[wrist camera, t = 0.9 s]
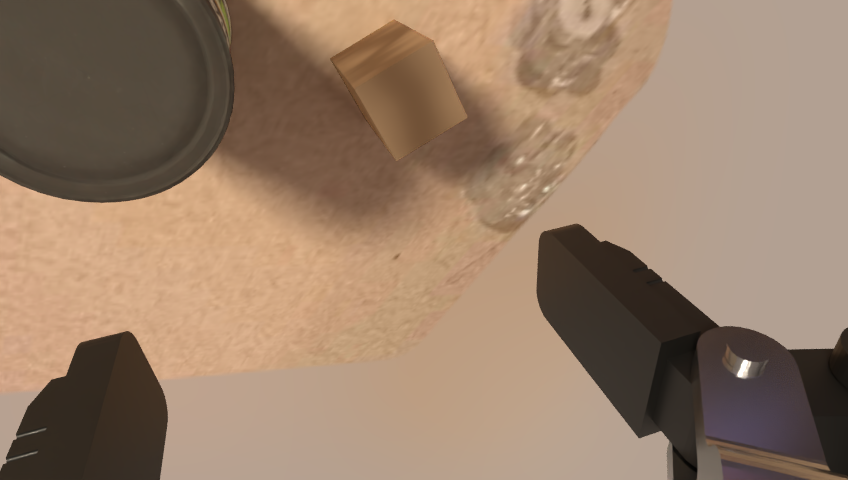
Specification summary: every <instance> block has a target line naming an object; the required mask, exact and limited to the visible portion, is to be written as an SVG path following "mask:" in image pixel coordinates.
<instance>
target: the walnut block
mask: <svg viewBox="0 0 848 480" xmlns="http://www.w3.org/2000/svg"><path fill="white" fill-rule="evenodd" d="M330 59H331V61H332V63H333V64H334V66H335V68H336V69H337V71H338V73H339V75H340V76H341V78H342V80H343V81H344V83H345V85H346V86H347V88H348V90H349V92H350V93H351V95H352V97H353V98H354V100H355V102H356V104H357V105H358V107H359V109H360V110H361V112H362V114H363V115H364V117H365V119H366V121H367V122H368V123H369V125H370V126H371V127H372V129H373V130H374V132H375V133H376V134H377V136H378V137H379V138H380V140H381V141H382V142H383V144H384V145H385V147H386V148H387V149H388V151H389V152H390V153H391V155H392V156H393V157H394V159H395V160H396V161H398V160H400V159H401V158H403V157H404V156H406V155H408V154H409V153H411V152H413V151H414V150H416V149H417V148H419V147H421V146H422V145H424V144H426V143H427V142H429V141H430V140H432V139H434V138H435V137H437V136H439V135H440V134H442V133H443V132H445V131H447V130H448V129H450V128H452V127H453V126H455V125H456V124H458V123H460V122H461V121H463V120H465V119H466V118H468V117H467V115H466V112H465V110H464V108H463V106H462V104H461V101H460V99H459V97H458V95H457V92H456V90H455V88H454V86H453V84H452V81H451V79H450V77H449V75H448V72H447V70H446V68H445V66H444V63H443V61H442V59H441V57H440V55H439V52H438V50H437V48H436V46H435V43H434V41H433V40H431V39H429V38H428V37H426V36H424V35H422V34H420V33H418V32H416V31H415V30H413V29H411V28H409V27H407V26H405V25H403V24H402V23H400V22H398V21H396V20H393V21H391V22H389V23H388V24H386V25H384V26H383V27H381V28H380V29H378V30H376V31H375V32H373V33H371V34H370V35H368V36H366V37H365V38H363V39H362V40H360V41H358V42H357V43H355V44H353V45H352V46H350V47H348V48H347V49H345V50H344V51H342V52H340V53H339V54H337V55H335V56H334V57H332V58H330Z"/></svg>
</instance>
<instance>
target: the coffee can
mask: <svg viewBox="0 0 848 480" xmlns="http://www.w3.org/2000/svg"><path fill="white" fill-rule="evenodd" d="M230 45H231V21H230V15H229V10H228V7H227V4H226V1H225V0H0V175H1V176H3V177H5V178H7V179H9V180H11V181H13V182H15V183H17V184H19V185H21V186H23V187H26V188H29V189H32V190H34V191H37V192H40V193H43V194H47V195H50V196H54V197H58V198H62V199H68V200H75V201H82V202H100V203H104V202H122V201H130V200H136V199H141V198H145V197H149V196H152V195H155V194H158V193H161V192H163V191H165V190H168V189H170V188H172V187H173V186H175V185H177V184H179V183H181V182H182V181H184V180H185V179H187V178H188V177H189V176H191V175H192V174H193V173H195V172H196V171H197V170H198V169H199V168H200V167H201V166H203V164H204V163H205V162H206V161H207V160H208V159H209V158H210V157H211V156H212V154H213V153H214V151H215V150H216V149H217V147H218V146H219V144H220V142H221V140H222V138H223V136H224V134H225V132H226V129H227V127H228V124H229V120H230V116H231V113H232V109H233V101H234V70H233V64H232V58H231V54H230Z"/></svg>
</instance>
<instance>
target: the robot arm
mask: <svg viewBox="0 0 848 480" xmlns="http://www.w3.org/2000/svg"><path fill="white" fill-rule="evenodd" d="M537 298H538V302H539V306H540V308H541V311H542V313H543V315H544V317H545V318H546V319H547V321H548V322H549V323H550V325H551V326H552V327H553V328H554V330H555V331H556V332H557V334H558V335H559V336H560V337H561V339H562V340H563V341H564V342H565V344H566V345H567V346H568V347H569V349H570V350H571V351H572V353H573V354H574V355H575V357H576V358H577V359H578V360H579V362H580V363H581V364H582V366H583V367H584V368H585V369H586V371H587V372H588V373H589V375H590V376H591V377H592V379H593V380H594V381H595V382H596V384H597V385H598V386H599V388H600V389H601V390H602V391H603V393H604V394H605V395H606V397H607V398H608V399H609V400H610V402H611V403H612V404H613V406H614V407H615V408H616V409H617V411H618V412H619V413H620V414H621V416H622V417H623V418H624V419H625V421H626V422H627V423H628V425H629V426H630V427H631V429H632V430H633V431H634V432H635V434H636V435H637V436H638V438H642V437H644V436H647V435H650V434H653V433H656V432H659V431H662V432H663V433H664V435H665V436H666V437H667V438H668V439H669V445H668V448H667V474H668V475H667V477H668V480H848V328H846V329H845V330H844V331H843V332H842V334H841V336H840V338H839V340H838V342H837V344H836V346H835V348H834V349H799V350H787V349H786V348H785V347H784V346H782V345H781V344H780V343H778V342H777V341H775V340H774V339H772V338H770V337H768V336H766V335H764V334H762V333H759V332H756V331H754V330H750V329H745V328H741V327H733V326H731V327H730V326H724V327H719V326H718V325H717V324H716V323H714V322H713V321H712V320H711V319H710V318H709V317H708V316H706V315H705V314H704V313H703V312H702V311H700V310H699V309H698V308H697V307H696V306H694V305H693V304H692V303H691V302H690V301H688V300H687V299H686V298H685V297H684V296H682V295H681V294H680V293H679V292H678V291H677V290H675V289H674V288H673V287H672V286H671V285H669V284H668V283H667V282H666V281H665V282H663V281H662V278H661V277H660V276H659V275H657V274H656V273H655V272H654V271H653V270H652V269H648V268H647V265H645V264H644V263H643V262H642V261H641V260H640V259H638V258H637V257H636V256H635V255H634V254H633V253H631V252H630V251H628V250H626V249H623V248H621V247H619V246H617V245H615V244H612V243H610V242H608V241H603V242H600V241H599V240H597V239H596V238H595V237H594V236H593V235H592V234H591V233H589V232H588V231H587V230H586V229H585V228H584V227H583V226H581V225H579V224H573V225H569V226H565V227H560V228H557V229H552V230H548V231H544V232H543V233H542V234H541V236H540V239H539V251H538V272H537ZM167 422H168V412H167V405H166V400H165V396H164V393H163V390H162V388H161V386H160V384H159V382H158V380H157V378H156V376H155V374H154V372H153V370H152V368H151V366H150V365H149V363H148V361H147V359H146V357H145V355H144V353H143V351H142V349H141V347H140V345H139V343H138V341H137V340H136V338H135V336H134V335H133V334H132V333H131V332H129V331H126V332H122V333H118V334H114V335H110V336H105V337H101V338H97V339H93V340H89V341H85V342H81V343H80V344H79V345H78V346H77V348H76V351H75V353H74V356H73V359H72V361H71V364H70V367H69V369H68V372H67V375H66V376H64V377H60V378H56V379H52V380H51V381H50V382H49V383H48V384H47V386H46V387H45V388H44V389H43V390H42V391H41V392H40V394H39V395H38V396H37V397H36V398H35V399H34V401H32V403H31V404H30V405H29V406H28V408H27V410H26V412H25V415H24V417H23V419H22V422H21V424H20V426H19V429H18V431H17V433H16V436H17V439H16V440H13V443H12V445H11V447H10V449H9V452H8V454H7V457H6V460H7V463H6V464H3V466H2V468H1V471H0V480H160V473H161V467H162V459H163V452H164V445H165V438H166V430H167Z"/></svg>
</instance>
